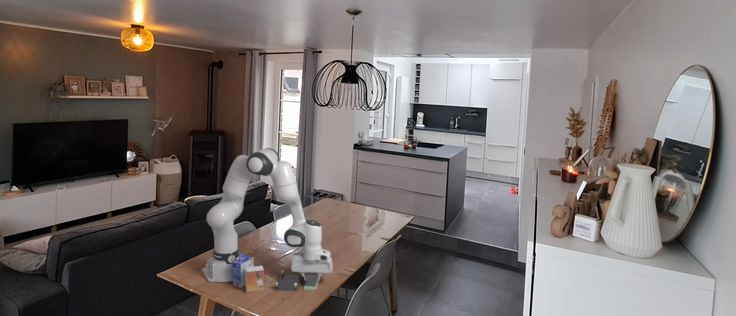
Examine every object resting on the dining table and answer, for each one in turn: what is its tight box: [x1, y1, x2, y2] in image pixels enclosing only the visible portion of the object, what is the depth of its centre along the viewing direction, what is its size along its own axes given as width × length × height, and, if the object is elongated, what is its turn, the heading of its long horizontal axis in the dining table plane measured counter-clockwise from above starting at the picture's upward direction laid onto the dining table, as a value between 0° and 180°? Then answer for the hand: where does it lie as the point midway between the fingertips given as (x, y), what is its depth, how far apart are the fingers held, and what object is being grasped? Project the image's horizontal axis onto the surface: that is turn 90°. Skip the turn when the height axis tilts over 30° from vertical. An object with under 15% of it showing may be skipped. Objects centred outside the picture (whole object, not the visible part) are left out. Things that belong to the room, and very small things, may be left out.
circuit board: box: [303, 272, 320, 291], centre depth 204 cm, size 6×10×6 cm, turn 179°
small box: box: [244, 265, 265, 294], centre depth 197 cm, size 8×6×10 cm
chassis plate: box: [273, 269, 303, 292], centre depth 205 cm, size 11×15×4 cm
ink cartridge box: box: [232, 253, 255, 289], centre depth 202 cm, size 10×6×14 cm, turn 158°
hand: (311, 280), depth 204 cm, fingers closed on circuit board, 4 cm apart
